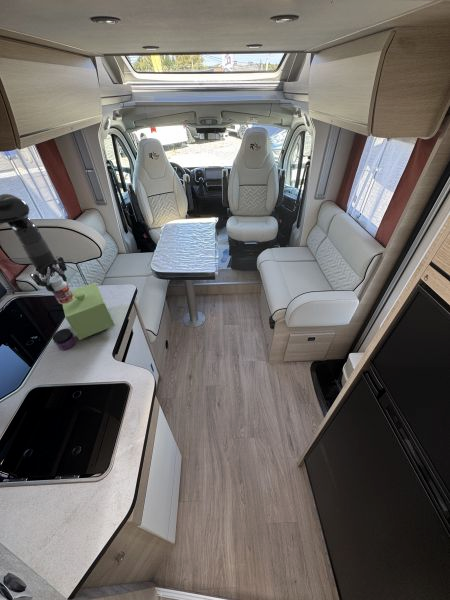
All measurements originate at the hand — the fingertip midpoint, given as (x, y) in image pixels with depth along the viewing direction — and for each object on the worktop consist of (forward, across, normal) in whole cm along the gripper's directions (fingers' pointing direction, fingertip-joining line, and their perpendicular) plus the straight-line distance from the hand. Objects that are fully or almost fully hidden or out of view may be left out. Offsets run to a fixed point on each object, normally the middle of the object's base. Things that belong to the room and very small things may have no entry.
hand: (58, 286), depth 105 cm
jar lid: (+23, +8, -3) cm, 25 cm away
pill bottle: (+8, 0, 0) cm, 8 cm away
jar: (+29, +8, -3) cm, 30 cm away
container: (+29, -6, +1) cm, 29 cm away
